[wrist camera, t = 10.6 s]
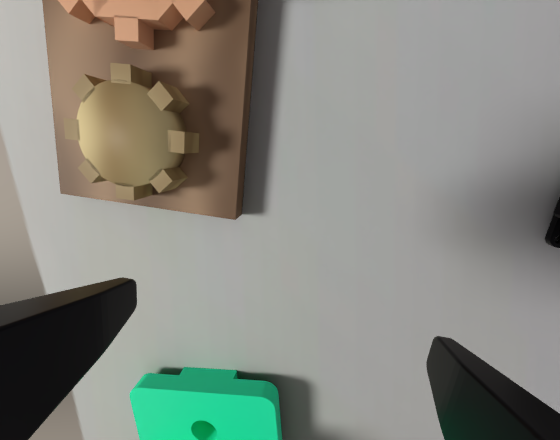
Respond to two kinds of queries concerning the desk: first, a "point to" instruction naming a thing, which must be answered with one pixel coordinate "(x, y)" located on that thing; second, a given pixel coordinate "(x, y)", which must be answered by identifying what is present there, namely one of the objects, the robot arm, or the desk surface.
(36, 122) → the desk surface
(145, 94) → the carrier
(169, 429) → the camera mount
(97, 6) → the gear
